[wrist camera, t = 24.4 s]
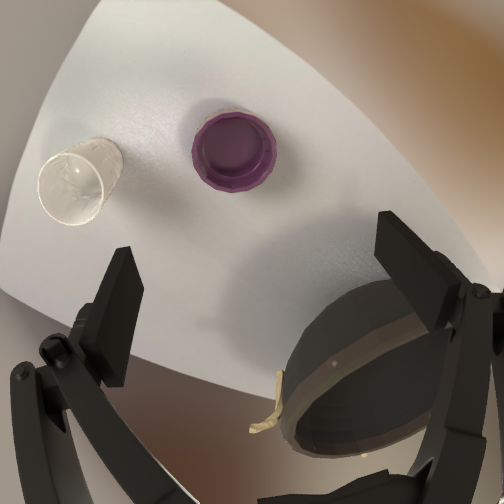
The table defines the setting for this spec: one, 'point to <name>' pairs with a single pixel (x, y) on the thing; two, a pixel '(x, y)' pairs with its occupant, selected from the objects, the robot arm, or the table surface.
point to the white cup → (79, 181)
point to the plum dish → (233, 150)
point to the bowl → (359, 376)
